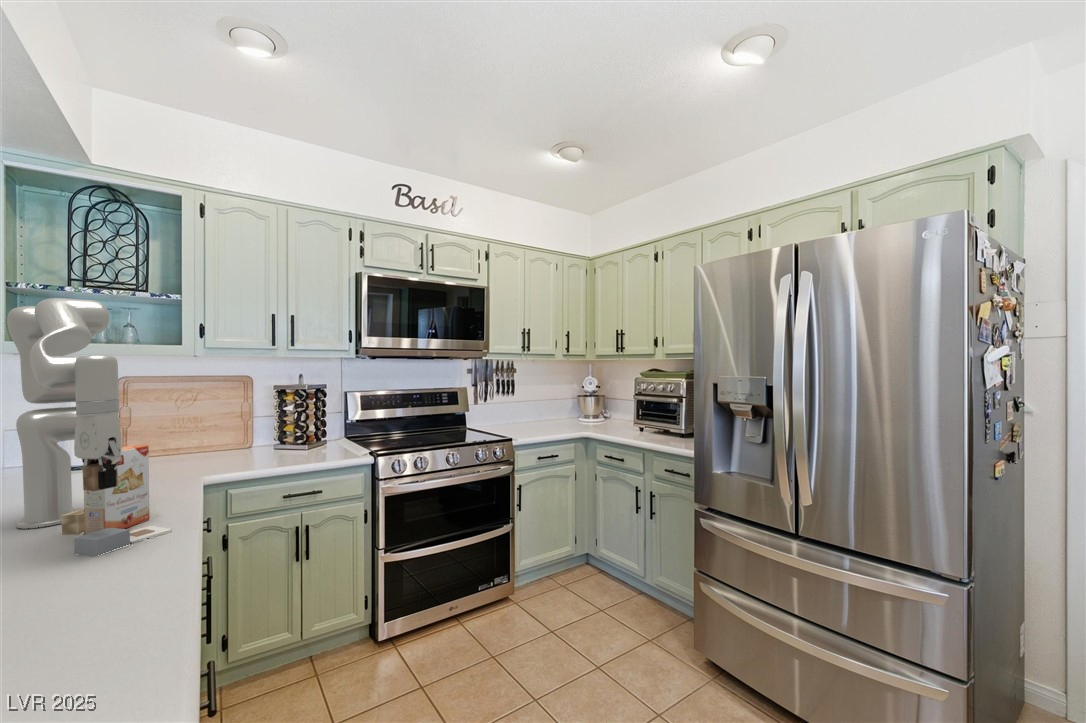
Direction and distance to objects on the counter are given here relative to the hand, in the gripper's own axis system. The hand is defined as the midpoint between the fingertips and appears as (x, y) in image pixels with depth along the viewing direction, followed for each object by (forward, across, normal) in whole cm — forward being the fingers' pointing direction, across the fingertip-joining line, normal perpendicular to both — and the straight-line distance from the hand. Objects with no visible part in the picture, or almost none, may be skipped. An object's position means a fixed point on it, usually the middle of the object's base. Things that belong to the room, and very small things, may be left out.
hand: (101, 486), depth 116 cm
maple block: (+15, -23, +6) cm, 28 cm away
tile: (+15, -2, +9) cm, 17 cm away
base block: (+15, 0, 0) cm, 15 cm away
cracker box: (+15, -15, +11) cm, 24 cm away
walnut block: (0, 0, 0) cm, 0 cm away
